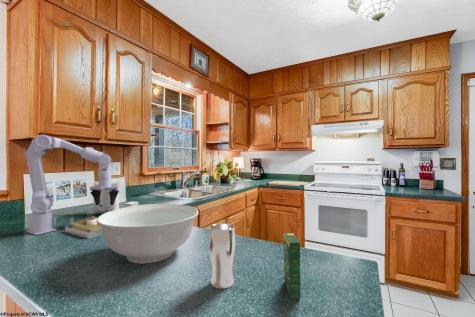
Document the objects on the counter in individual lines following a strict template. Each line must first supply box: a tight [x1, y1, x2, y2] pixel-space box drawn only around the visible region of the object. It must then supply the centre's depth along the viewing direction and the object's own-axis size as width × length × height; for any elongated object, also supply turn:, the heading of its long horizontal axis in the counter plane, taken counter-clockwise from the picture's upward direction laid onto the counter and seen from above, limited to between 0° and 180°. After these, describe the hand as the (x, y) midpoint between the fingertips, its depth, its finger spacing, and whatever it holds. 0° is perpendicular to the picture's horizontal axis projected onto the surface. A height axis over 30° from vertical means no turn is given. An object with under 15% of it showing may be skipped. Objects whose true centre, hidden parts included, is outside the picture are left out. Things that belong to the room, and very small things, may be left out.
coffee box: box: [283, 232, 301, 299], centre depth 60 cm, size 8×3×13 cm, turn 178°
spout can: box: [86, 215, 97, 226], centre depth 110 cm, size 4×4×7 cm
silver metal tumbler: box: [208, 222, 236, 290], centre depth 63 cm, size 7×7×15 cm
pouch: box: [92, 180, 121, 214], centre depth 142 cm, size 8×19×20 cm, turn 69°
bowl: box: [97, 203, 199, 265], centre depth 83 cm, size 32×32×15 cm
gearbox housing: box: [64, 216, 103, 239], centre depth 110 cm, size 18×15×4 cm
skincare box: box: [122, 201, 139, 208], centre depth 116 cm, size 6×4×12 cm
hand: (105, 204), depth 121 cm, fingers open, 7 cm apart
